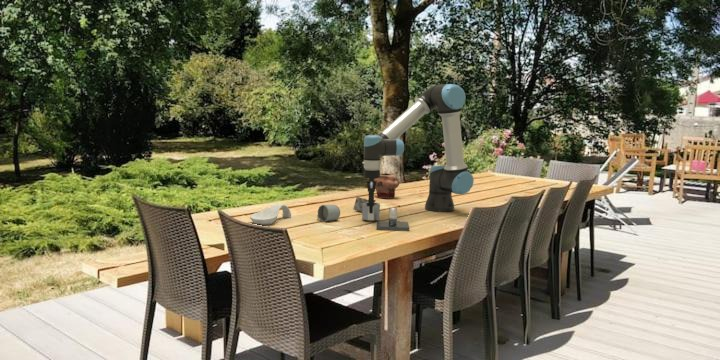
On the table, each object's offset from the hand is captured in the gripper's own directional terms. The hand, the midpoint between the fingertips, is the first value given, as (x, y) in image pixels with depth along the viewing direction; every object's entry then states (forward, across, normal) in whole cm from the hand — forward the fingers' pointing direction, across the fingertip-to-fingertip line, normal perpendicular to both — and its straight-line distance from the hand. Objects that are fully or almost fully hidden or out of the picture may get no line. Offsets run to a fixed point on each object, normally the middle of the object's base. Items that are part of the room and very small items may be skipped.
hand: (370, 217), depth 262 cm
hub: (0, 0, 0) cm, 0 cm away
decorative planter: (+2, -68, +7) cm, 68 cm away
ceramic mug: (+1, +3, -20) cm, 21 cm away
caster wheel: (+2, -23, -2) cm, 23 cm away
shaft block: (+1, +14, +10) cm, 17 cm away
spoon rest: (+1, +10, -44) cm, 46 cm away
